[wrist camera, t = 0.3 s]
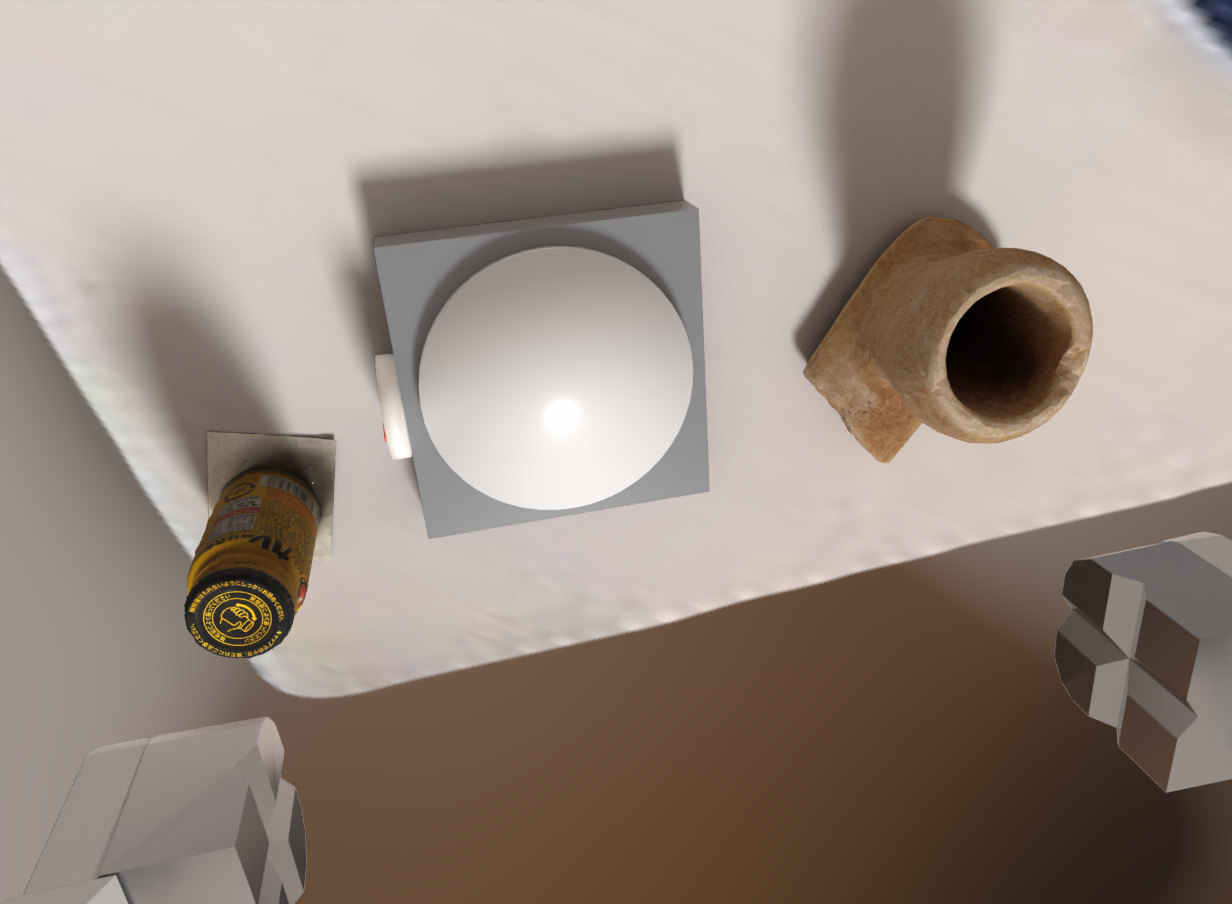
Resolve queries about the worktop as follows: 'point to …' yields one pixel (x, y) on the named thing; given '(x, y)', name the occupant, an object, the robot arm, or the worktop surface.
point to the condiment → (259, 539)
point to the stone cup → (953, 341)
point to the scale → (546, 364)
